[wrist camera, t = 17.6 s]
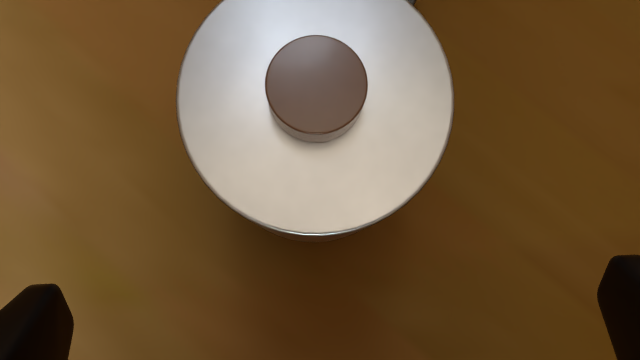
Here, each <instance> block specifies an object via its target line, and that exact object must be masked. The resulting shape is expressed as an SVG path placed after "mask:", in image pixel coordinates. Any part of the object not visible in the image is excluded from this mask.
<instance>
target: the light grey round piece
mask: <svg viewBox="0 0 640 360" xmlns="http://www.w3.org/2000/svg"><path fill="white" fill-rule="evenodd" d="M176 111H177V121H178V126H179V131H180V136H181V138H182V141H183V144H184V147H185V150H186V153H187V155H188V157H189V159H190V161H191V163H192V165H193V167H194V169H195V170H196V172H197V173H198V174H199V176H200V177H201V179H202V180H203V182H204V183H205V184H206V185H207V187H208V188H209V189H210V190H211V191H212V192H213V193H214V194H215V195H216V196H217V198H219V199H220V200H221V201H222V202H223V203H225V204H226V205H227V206H228V207H229V208H231V209H232V210H233V211H235V212H237V213H238V214H240V215H241V216H243V217H244V218H246V219H248V220H249V221H251V222H253V223H254V224H256V225H258V226H260V227H261V228H263V229H265V230H266V231H269V232H271V233H273V234H275V235H277V236H280V237H283V238H287V239H290V240H295V241H301V242H326V241H332V240H336V239H341V238H344V237H346V236H349V235H352V234H354V233H357V232H359V231H361V230H363V229H365V228H367V227H369V226H372V225H374V224H376V223H378V222H380V221H381V220H383V219H385V218H387V217H389V216H391V215H392V214H394V213H395V212H396V211H398V210H399V209H400V208H402V207H403V206H405V205H406V204H407V203H408V202H409V201H410V200H411V199H412V198H413V197H414V196H415V195H417V194H418V193H419V192H420V190H421V189H422V188H423V187H424V185H425V184H426V183H427V182H428V180H429V179H430V178H431V176H432V175H433V173H434V171H435V170H436V168H437V166H438V165H439V163H440V161H441V159H442V156H443V154H444V152H445V149H446V147H447V144H448V140H449V137H450V133H451V130H452V123H453V116H454V88H453V81H452V75H451V71H450V67H449V64H448V60H447V57H446V55H445V53H444V50H443V48H442V45H441V43H440V41H439V40H438V38H437V36H436V34H435V33H434V31H433V29H432V28H431V26H430V25H429V24H428V22H427V21H426V20H425V18H424V17H423V16H422V14H421V13H420V12H419V11H418V10H417V9H416V8H415V7H414V6H413V5H412V4H411V3H410V2H409V1H408V0H222V1H221V2H220V3H218V4H217V5H216V6H215V7H214V9H213V10H212V11H211V12H210V13H209V14H208V15H207V16H206V17H205V19H204V20H203V22H202V23H201V24H200V26H199V27H198V29H197V30H196V32H195V33H194V35H193V37H192V39H191V41H190V43H189V45H188V47H187V49H186V52H185V55H184V57H183V60H182V63H181V66H180V71H179V76H178V80H177V91H176Z"/></svg>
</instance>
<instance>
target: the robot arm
mask: <svg viewBox="0 0 640 360" xmlns="http://www.w3.org/2000/svg"><path fill="white" fill-rule="evenodd" d="M597 298H598V303H599V307H600V310H601V313H602V316H603V319H604V321H605V324H606V327H607V330H608V333H609V336H610V339H611V342H612V345H613V348H614V351H615V354H616V357H617V360H640V255H618V256H614V257H613V258H612V259H610V261H609V263H608V266H607V268H606V270H605V273H604V275H603V278H602V280H601V282H600V285H599V287H598V292H597ZM73 328H74V322H73V316H72V314H71V311H70V309H69V307H68V305H67V303H66V300H65V298H64V296H63V294H62V291H61V289H60V288H59V287H58V286H57V285H56V284H36V285H30V286H28V287H27V288H25V289H24V290H23V291H22V292H21V293H19V294H18V295H17V296H16V297H15V298H14V299H13V300H11V301H10V302H9V303H8V304H7V305H6V306H5V307H4V308H2V309H1V310H0V360H68V356H69V350H70V345H71V340H72V335H73Z"/></svg>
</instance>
